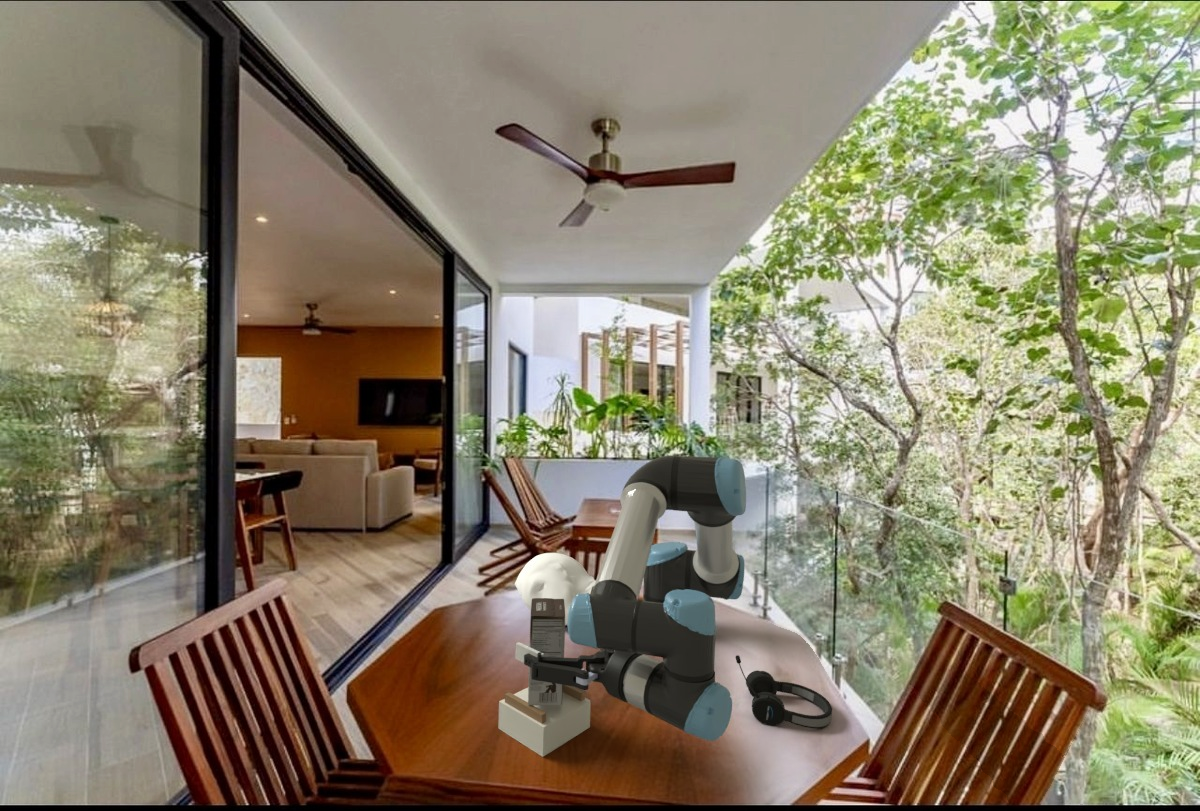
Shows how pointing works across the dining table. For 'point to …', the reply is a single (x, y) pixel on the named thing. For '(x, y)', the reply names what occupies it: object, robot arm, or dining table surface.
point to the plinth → (544, 719)
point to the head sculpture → (553, 579)
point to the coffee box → (546, 646)
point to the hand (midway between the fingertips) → (545, 638)
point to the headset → (772, 708)
